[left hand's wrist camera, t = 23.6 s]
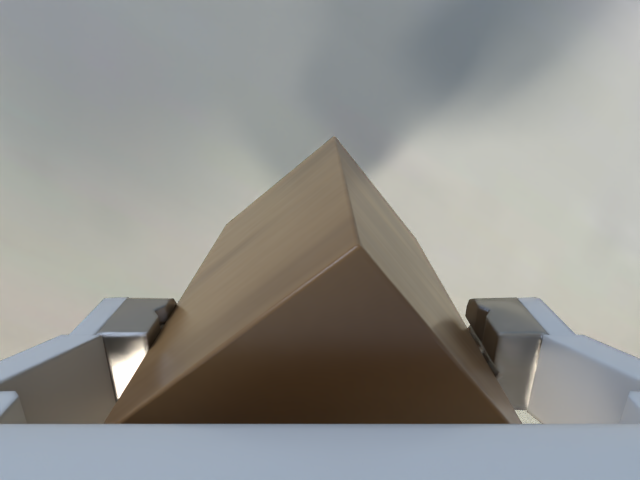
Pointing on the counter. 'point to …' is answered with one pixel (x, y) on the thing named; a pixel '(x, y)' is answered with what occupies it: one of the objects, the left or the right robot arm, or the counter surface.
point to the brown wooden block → (315, 320)
